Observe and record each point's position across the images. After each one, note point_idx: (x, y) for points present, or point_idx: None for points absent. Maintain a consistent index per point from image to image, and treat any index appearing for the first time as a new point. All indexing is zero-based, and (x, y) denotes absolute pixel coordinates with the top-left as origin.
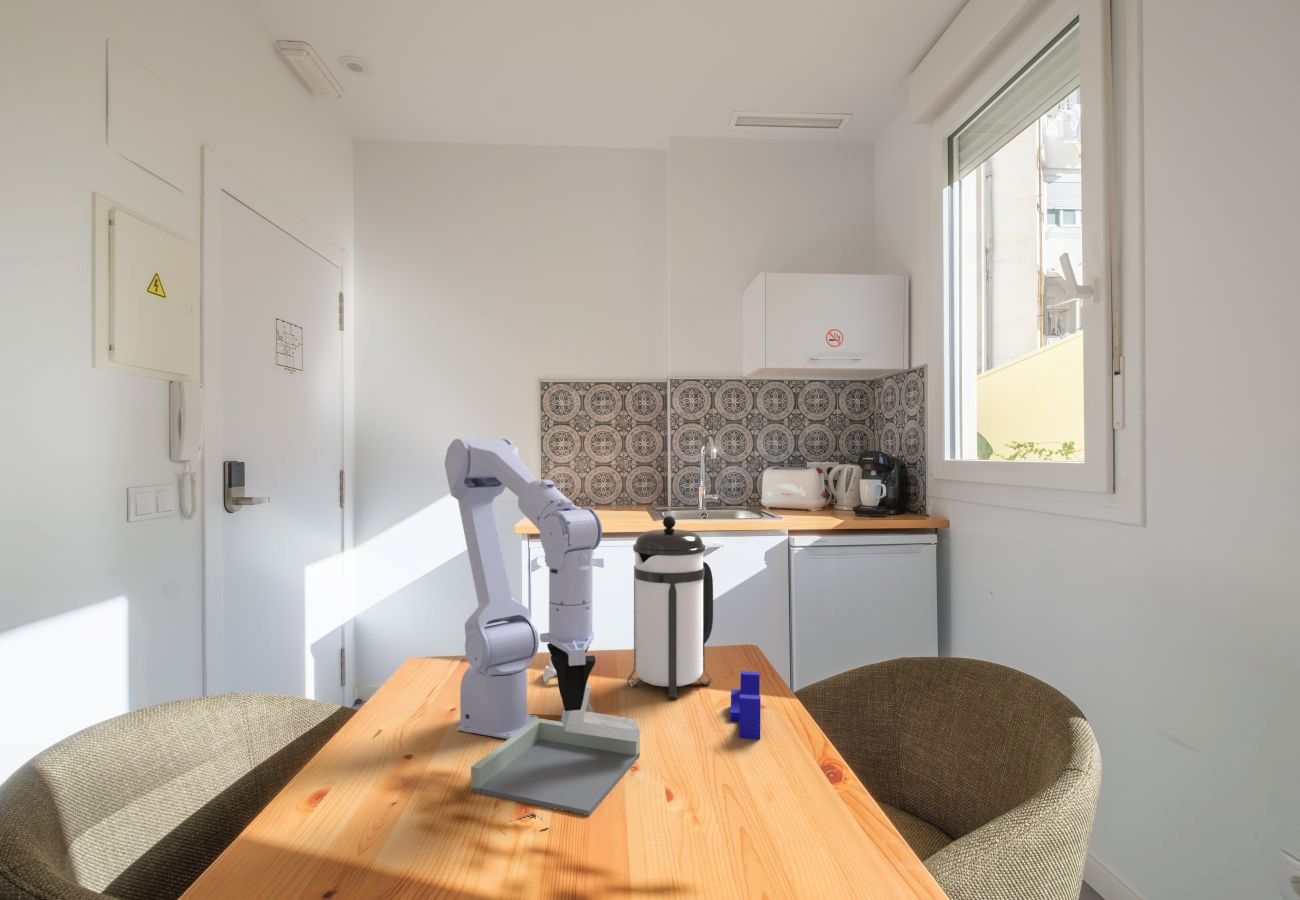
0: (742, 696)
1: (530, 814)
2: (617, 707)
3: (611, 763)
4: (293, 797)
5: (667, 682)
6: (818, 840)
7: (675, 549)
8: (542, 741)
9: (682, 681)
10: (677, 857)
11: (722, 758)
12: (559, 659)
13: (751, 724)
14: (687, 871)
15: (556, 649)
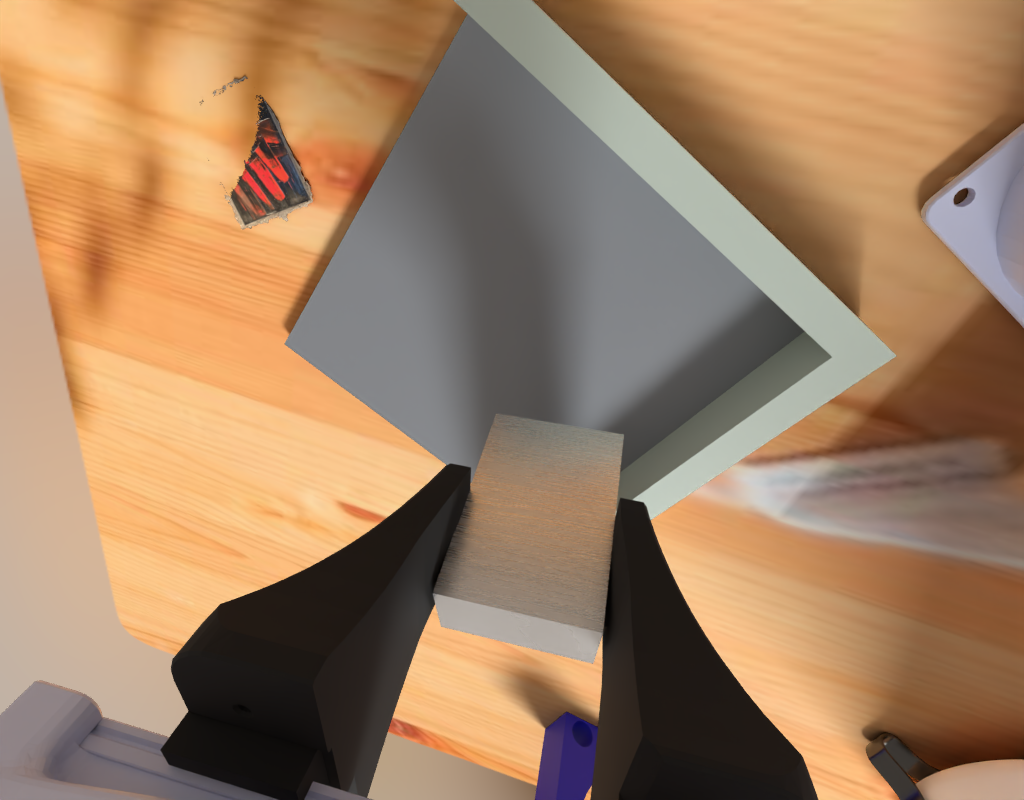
0: None
1: (306, 189)
2: (942, 623)
3: None
4: None
5: (928, 789)
6: (210, 612)
7: None
8: (781, 331)
9: None
10: (154, 438)
11: (489, 650)
12: (209, 689)
13: (549, 755)
14: (118, 435)
15: (624, 769)
